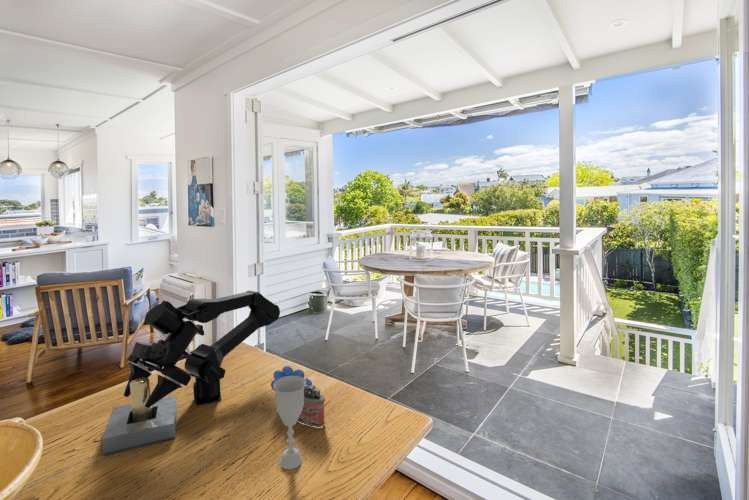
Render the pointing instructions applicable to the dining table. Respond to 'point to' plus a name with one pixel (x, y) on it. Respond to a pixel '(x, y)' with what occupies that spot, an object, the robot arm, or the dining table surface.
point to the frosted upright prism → (140, 399)
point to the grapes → (289, 372)
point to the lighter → (312, 407)
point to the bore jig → (140, 427)
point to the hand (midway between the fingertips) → (135, 401)
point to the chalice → (290, 414)
